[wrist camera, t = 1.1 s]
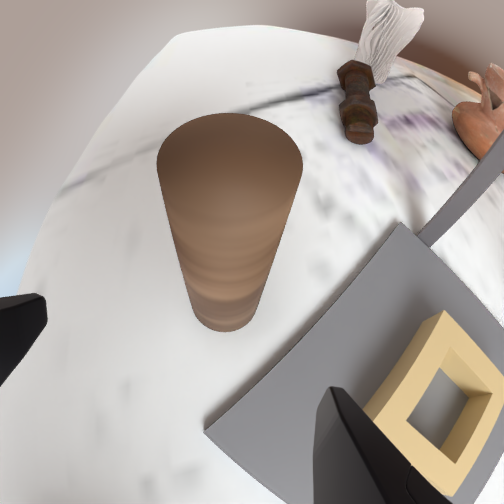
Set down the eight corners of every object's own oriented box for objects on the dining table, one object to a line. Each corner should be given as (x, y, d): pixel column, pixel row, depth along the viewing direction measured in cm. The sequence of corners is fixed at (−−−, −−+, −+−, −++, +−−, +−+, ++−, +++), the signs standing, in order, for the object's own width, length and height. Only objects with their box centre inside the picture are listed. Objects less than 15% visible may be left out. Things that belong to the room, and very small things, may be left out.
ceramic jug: (441, 146, 35) (489, 72, 22) (437, 103, 41) (470, 43, 29) (522, 205, 33) (573, 152, 20) (508, 153, 39) (546, 105, 27)
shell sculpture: (396, 96, 39) (434, 4, 24) (348, 82, 39) (380, -18, 23) (384, 73, 43) (415, -8, 28) (342, 61, 43) (367, -26, 27)
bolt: (343, 157, 33) (344, 93, 40) (385, 154, 31) (376, 89, 37) (331, 118, 29) (334, 61, 35) (378, 113, 26) (368, 56, 33)
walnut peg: (266, 321, 21) (327, 197, 9) (201, 339, 20) (168, 232, 8) (245, 263, 23) (272, 107, 11) (184, 278, 22) (150, 126, 10)
